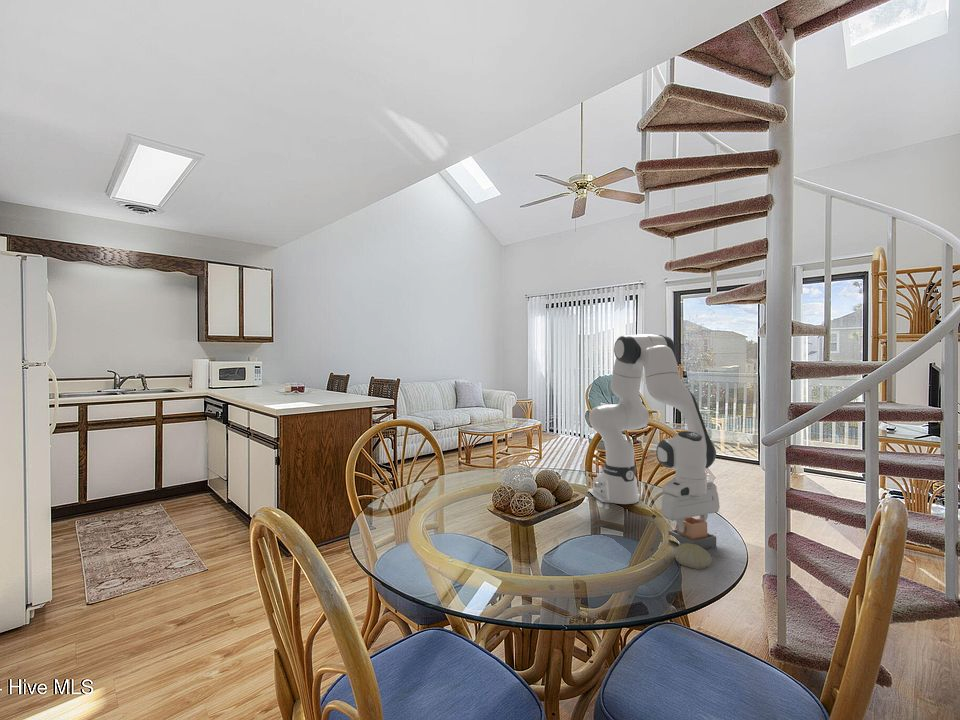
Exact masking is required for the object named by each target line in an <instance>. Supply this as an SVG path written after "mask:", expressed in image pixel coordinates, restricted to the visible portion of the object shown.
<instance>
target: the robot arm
mask: <svg viewBox="0 0 960 720" xmlns="http://www.w3.org/2000/svg"><path fill="white" fill-rule="evenodd" d="M675 351H676V346H675V342H674V340H673V339H672V338H671V337H669V336H668V335H664V334H658V335H657V334H650V333H649V334H648V333H644V334H632V335H631V334H625V335H621V336H619V337H618V338H617V339H616V341H615V343H614V349H613V353H614V356H615V361H614V365H613V367H612V368H613V369H612V375H611V380H610V390H611V392H612V393H613V395H615V396H616V397H618V403H610V404H601V405H598V406H594V407H593V408H592V409H591V410H590V412H589V415H588V420H589V424H590V426H591V427H592V429H593V430H595V431H596V432H597V433H598V434H599V435H600V437H601V439H602V441H603V443H604V448H605V449H604V450H605V463H601V464H602V468H603V470H602V472H601V473H600V474H598V476H596V477H595V478H594V479H593V483H592V485H593V487H591V488H588V489H587V492H588V491H589V492H590V493H591V494H592V495H593V496H592V495H591V494H590V493H589V494H590V495H591V496H592V497H594V498H595V499H597V500H598V501H599V502H602V503H611V504H619V505H631V504H637V503H638V502H640V497H641V494H640V493H639V489H638V479H637V477H636V475H637V473H636V472H637V468H636V465H635V447H634V445H633V444H632V443H631V442H630V441H629V440H626V439H625V438H624V435H623V431H635V430H636V431H637V430H640V429H642V428H645V427H646V426H648V424H649V421H650V412H649V411H648V408H647V407H646V406H645V405H644V404H643V403H642V401H641V399H640V398H641V397H640V389H641V382H642V376H643V371H644V374H645V375H644V377H645V384H646V388H647V391H648V393H649V395H650V396H651V397H652V398H653V399H654V400H656V401H657V402H659V403H661V404H665V405H666V406H670V407H673V408H675V409H677V410H678V411H679V412H680V413H681V414H682V416H683V418H684V421H685V423H686V426H687V427H686V428H687V430H688V431H687V430H684V431H678V432H677V433H676V434H675V436H673V437H670V438H664V439H661V440H660V442H659V443H658V444H657V446H656V450H655V452H656V454H655V455H656V459H657V461H658V462H659V463H660V465H662V466H663V467H664V468H667V469H675V477H673V478H672V479H671V480H669V481H667V482H665V483H664V484H663V485H662V491H663V492H664V493H663V495H662V497H661V513H662V516H663V518H665V519H667V520H668V521H675V522H676V525H677V524H678V525H679V531H680V532H682V533H683V532H687V530H686V529H687V527H686V526H684V524H683V522H684V518H689V517H698V516H699V518H698V519H700V520H703V521H705V522H707V519H708V518H709V515H710V514H715V513H718V512H719V511H720V500H719V499H720V497H719V494H718V490H717V485H716V484H715V483H714V482H712V481H710V482H708V475H707V473H706V472H707V471H706V469H708V468H710V467H711V466H712V465H713V464H714V462H715V460H716V458H717V450H716V447H715V445H714V444H713V441H712V440H711V438H710V436H709V433H708V430H707V428H706V425H705V422H704V419H703V416H702V414H701V411H700V408H699V406H698V403H697V400H696V397H695V396H694V394H693V393H692V392H691V391H690V390H688V389H687V387H686V386H685V384H684V383H683V381H682V378H681V374H680V369H679V366H678V365H679V364H678V361H677V358H676V356H675Z"/></svg>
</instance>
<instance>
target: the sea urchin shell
mask: <svg viewBox="0 0 960 720" xmlns="http://www.w3.org/2000/svg"><path fill="white" fill-rule="evenodd" d="M675 558H676V559H675ZM674 559H675V561H676V562H677V561H678V562H679V563H678V562H677V563H678V564H680V565H681V564H682V565H683V567H688V568H691V569H695V570H700V569H701V570H702V569H705V568H708V567H709V566H710V565H711V564H712V557H711V555H710V553H709V552H708V551H707V550H706V549H703V548H702V547H700V546H698V545H695V544H689V543H684V544H680V545H677V547H675V550H674Z"/></svg>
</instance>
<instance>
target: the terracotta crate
mask: <svg viewBox="0 0 960 720" xmlns="http://www.w3.org/2000/svg"><path fill="white" fill-rule="evenodd" d="M683 524H684V526H686V527H687V529H686V530H687V532H683V533H682V532H680V531H679V525H678V524H677V523H676V529H677V534H679V535H681V536H684V537H686V538H688V539H690V540H692V541H694V540H698V539H703V538H708V535H707V533H708V522H707V521H706V522H705V521H703V520H700V519H699V518H697V517H696V516H694V517H689V518H684V522H683Z"/></svg>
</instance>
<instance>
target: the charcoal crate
mask: <svg viewBox="0 0 960 720" xmlns="http://www.w3.org/2000/svg"><path fill="white" fill-rule="evenodd" d="M669 535H672V536H674V537H675V538H676V539H677V540H678V541H679V542H680V543H681V544H684V543H689V544H695V545H698V546H700V547H702V548H703V549H705V550H706V549H707V550H708V549H711V548H717V536H716V535H713V534H711V533H708V532H707V535H708V538H703V539H698V540H694V541H692V540H690V539H688V538H686V537H684V536H681V535H679V534H677V528H674V529H670V530H668V536H669Z"/></svg>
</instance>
